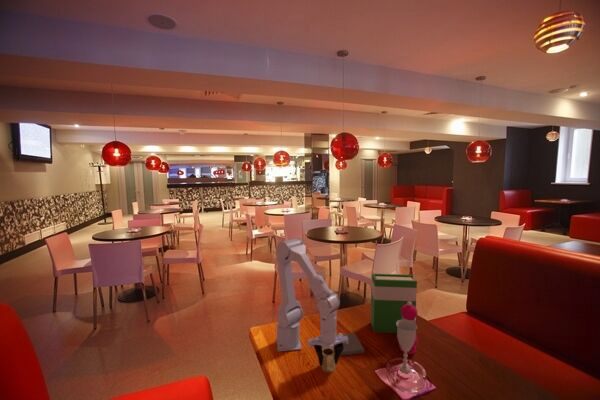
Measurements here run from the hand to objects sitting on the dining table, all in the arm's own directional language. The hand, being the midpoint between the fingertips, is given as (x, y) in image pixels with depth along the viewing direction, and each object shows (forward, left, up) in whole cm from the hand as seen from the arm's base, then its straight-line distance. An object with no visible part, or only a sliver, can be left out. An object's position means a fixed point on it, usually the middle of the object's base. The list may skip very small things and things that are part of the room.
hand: (327, 362), depth 100 cm
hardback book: (+35, +20, -2) cm, 40 cm away
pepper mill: (+34, +5, -2) cm, 34 cm away
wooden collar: (0, 0, -2) cm, 2 cm away
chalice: (+26, -7, -2) cm, 27 cm away
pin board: (+8, +11, -2) cm, 14 cm away
